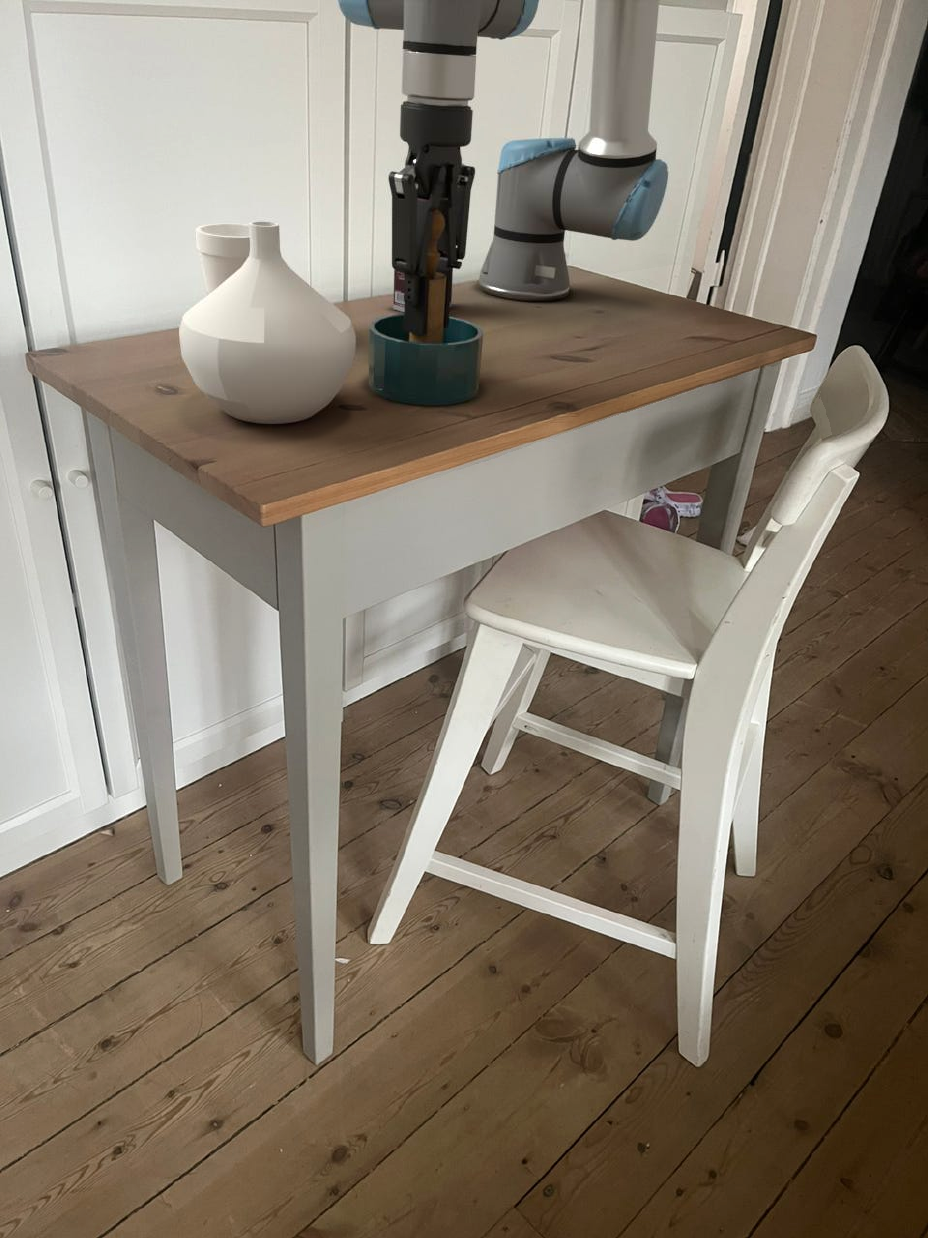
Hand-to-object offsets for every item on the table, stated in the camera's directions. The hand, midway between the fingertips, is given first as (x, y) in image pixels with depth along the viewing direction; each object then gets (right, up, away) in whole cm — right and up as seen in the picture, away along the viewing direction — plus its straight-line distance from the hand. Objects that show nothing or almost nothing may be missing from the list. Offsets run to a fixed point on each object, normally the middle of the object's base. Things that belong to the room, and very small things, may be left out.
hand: (426, 328), depth 110 cm
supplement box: (-2, +13, +35) cm, 37 cm away
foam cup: (-26, +5, +18) cm, 32 cm away
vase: (-17, -11, -6) cm, 21 cm away
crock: (0, -6, +4) cm, 7 cm away
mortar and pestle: (0, -4, +3) cm, 5 cm away
